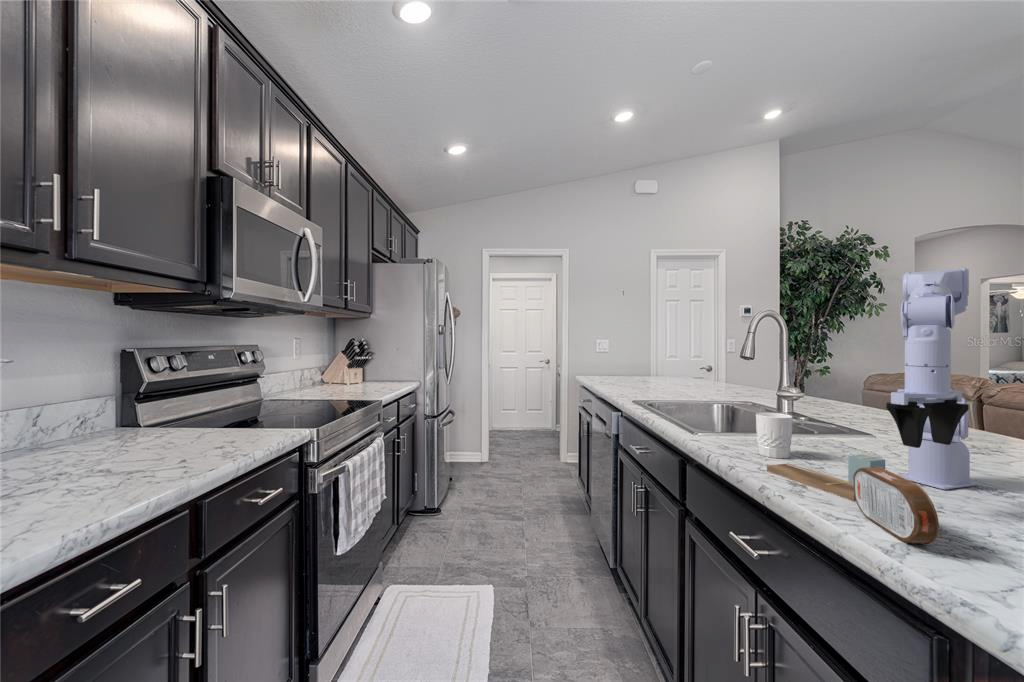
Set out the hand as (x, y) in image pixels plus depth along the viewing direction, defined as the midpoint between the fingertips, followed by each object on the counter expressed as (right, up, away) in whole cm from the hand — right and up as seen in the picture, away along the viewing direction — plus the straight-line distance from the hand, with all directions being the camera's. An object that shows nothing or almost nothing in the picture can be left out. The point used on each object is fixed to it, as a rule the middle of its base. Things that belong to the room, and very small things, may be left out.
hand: (926, 445), depth 74 cm
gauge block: (-2, -11, +10) cm, 15 cm away
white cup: (-6, -11, +33) cm, 35 cm away
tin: (-15, -11, -10) cm, 21 cm away
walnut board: (-11, -10, +11) cm, 19 cm away
